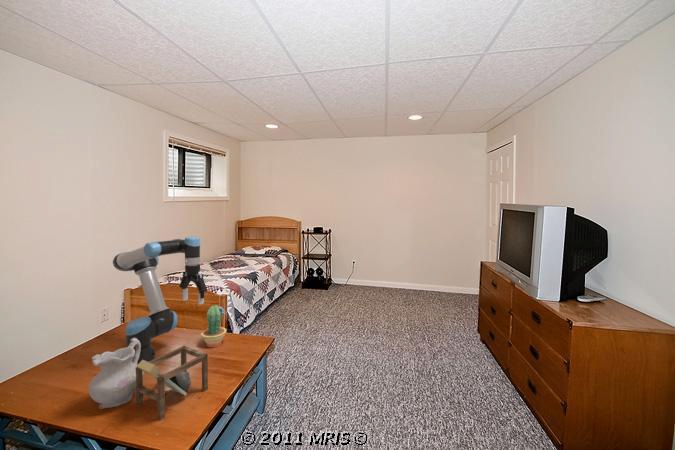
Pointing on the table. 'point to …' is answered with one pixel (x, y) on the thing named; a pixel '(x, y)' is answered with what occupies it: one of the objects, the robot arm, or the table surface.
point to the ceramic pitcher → (115, 376)
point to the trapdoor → (158, 375)
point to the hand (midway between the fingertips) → (193, 302)
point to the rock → (182, 380)
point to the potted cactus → (214, 327)
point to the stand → (170, 376)
